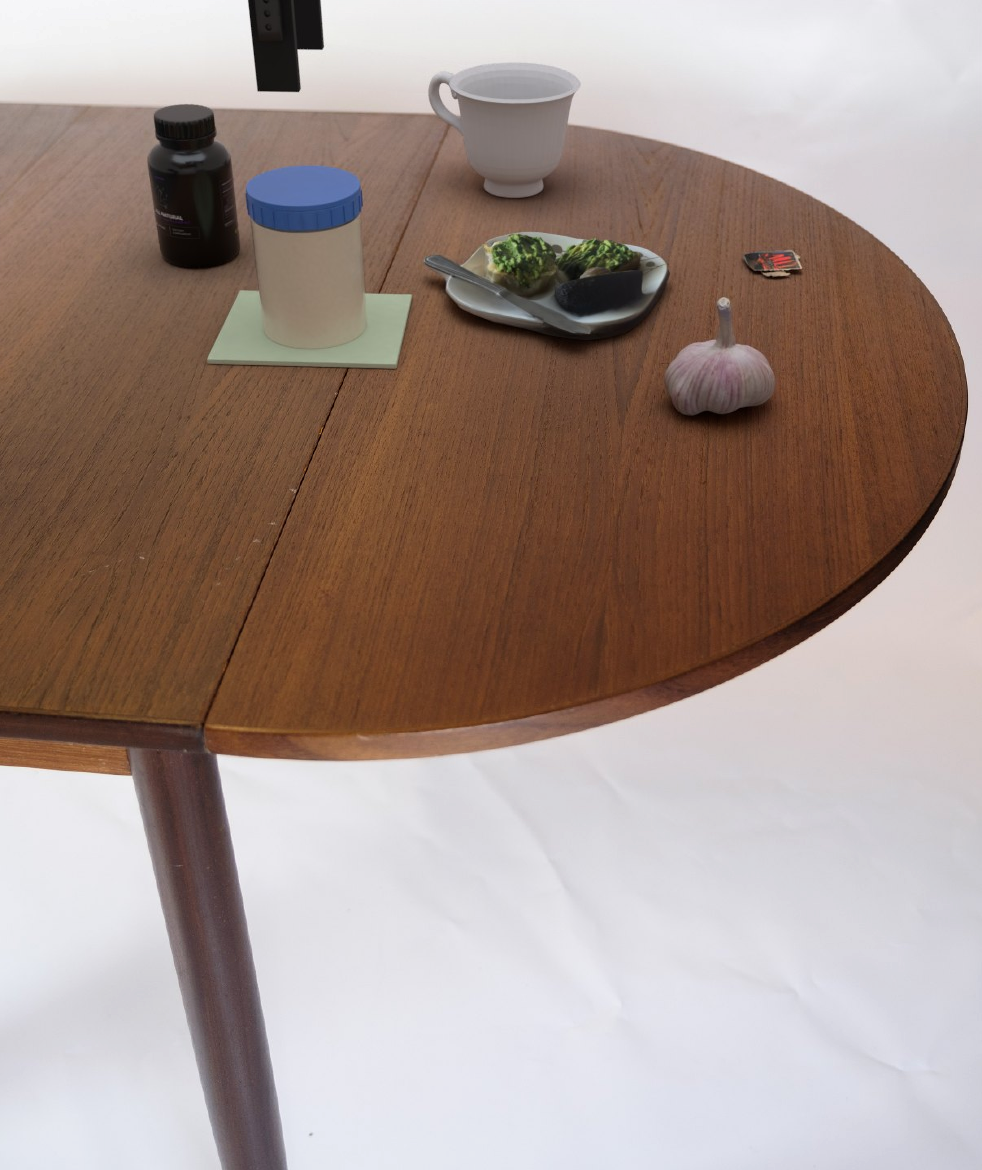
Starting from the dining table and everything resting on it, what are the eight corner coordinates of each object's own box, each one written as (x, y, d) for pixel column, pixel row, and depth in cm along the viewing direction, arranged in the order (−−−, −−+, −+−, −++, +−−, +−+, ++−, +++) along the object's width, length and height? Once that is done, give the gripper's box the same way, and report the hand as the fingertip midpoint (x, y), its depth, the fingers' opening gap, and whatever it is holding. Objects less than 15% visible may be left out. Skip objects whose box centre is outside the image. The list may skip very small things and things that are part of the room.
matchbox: (736, 257, 110) (737, 252, 109) (791, 251, 111) (791, 246, 111) (760, 279, 106) (761, 274, 106) (816, 272, 107) (817, 267, 107)
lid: (237, 230, 90) (234, 205, 89) (259, 187, 96) (257, 164, 95) (354, 232, 89) (352, 207, 88) (369, 190, 96) (367, 166, 95)
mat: (207, 364, 94) (206, 359, 94) (240, 294, 104) (239, 290, 104) (396, 369, 94) (396, 364, 94) (412, 299, 103) (412, 294, 103)
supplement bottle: (154, 270, 108) (131, 126, 100) (168, 238, 113) (146, 99, 106) (236, 269, 108) (219, 125, 100) (246, 238, 113) (230, 99, 106)
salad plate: (382, 318, 100) (379, 262, 98) (471, 236, 114) (471, 185, 111) (617, 363, 95) (622, 305, 92) (683, 271, 108) (688, 218, 105)
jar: (253, 348, 95) (237, 211, 89) (273, 301, 102) (259, 171, 95) (360, 350, 95) (351, 213, 89) (373, 304, 102) (366, 173, 95)
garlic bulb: (658, 425, 87) (668, 317, 83) (666, 375, 93) (676, 271, 88) (770, 436, 86) (788, 327, 82) (771, 384, 92) (788, 280, 87)
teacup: (459, 155, 131) (458, 52, 125) (595, 177, 125) (600, 72, 119) (402, 193, 122) (398, 85, 116) (544, 219, 117) (548, 107, 111)
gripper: (288, -331, 65) (322, 120, 78) (347, -344, 82) (367, 27, 96) (141, -332, 65) (201, 118, 78) (231, -345, 82) (267, 25, 96)
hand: (292, 68), depth 87 cm, fingers open, 9 cm apart
